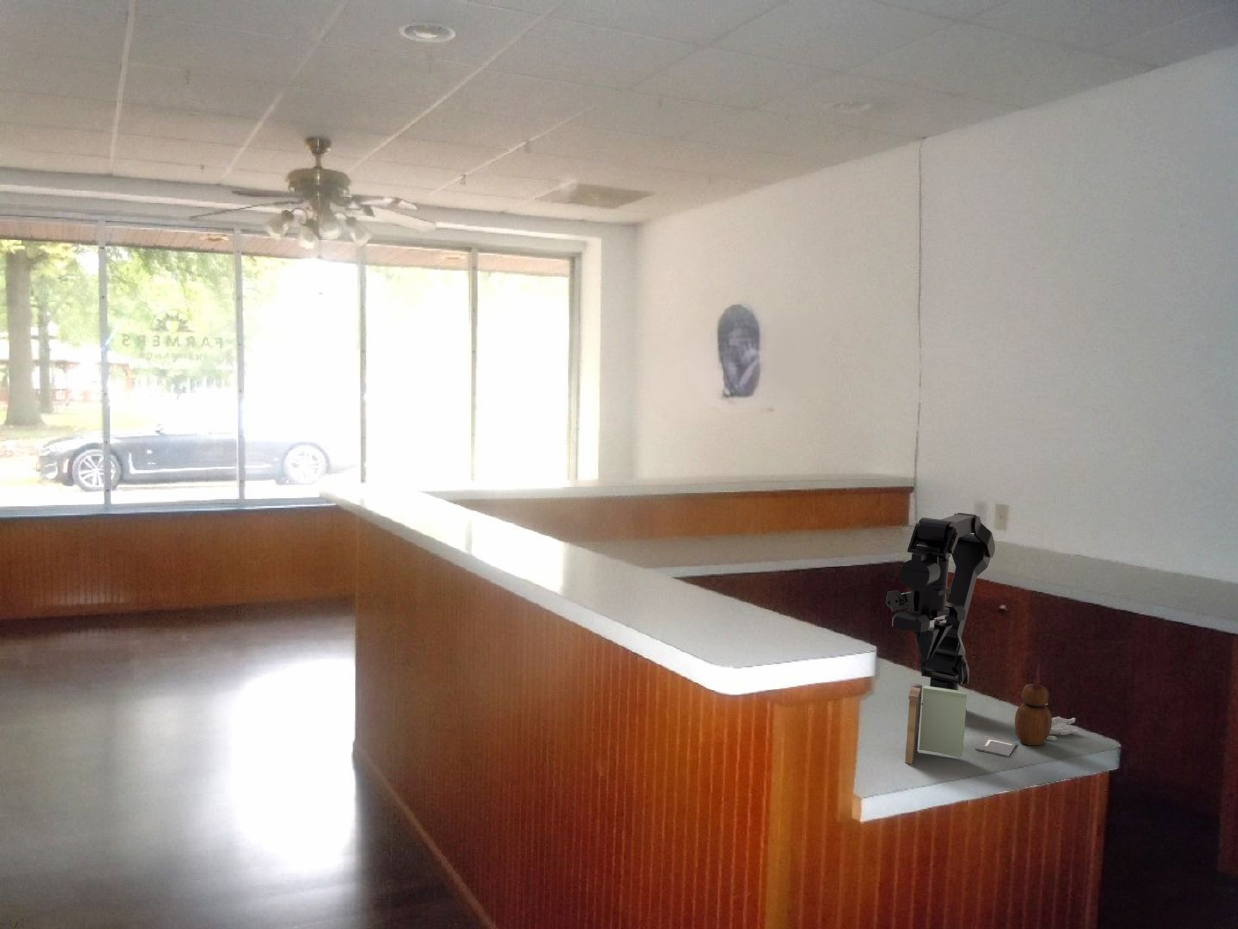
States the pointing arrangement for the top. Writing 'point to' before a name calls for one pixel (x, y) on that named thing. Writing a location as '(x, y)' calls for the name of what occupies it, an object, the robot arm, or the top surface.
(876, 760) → the top surface
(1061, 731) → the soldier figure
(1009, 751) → the card
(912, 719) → the brown upright slab
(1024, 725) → the wooden figurine
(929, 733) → the pale green rectangular panel
